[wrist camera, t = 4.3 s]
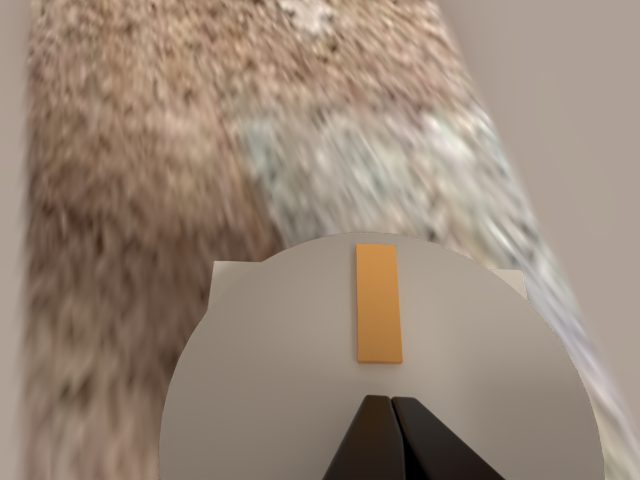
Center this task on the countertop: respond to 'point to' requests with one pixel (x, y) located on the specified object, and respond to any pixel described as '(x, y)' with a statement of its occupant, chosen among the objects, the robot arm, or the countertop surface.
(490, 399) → the knob
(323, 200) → the countertop surface
